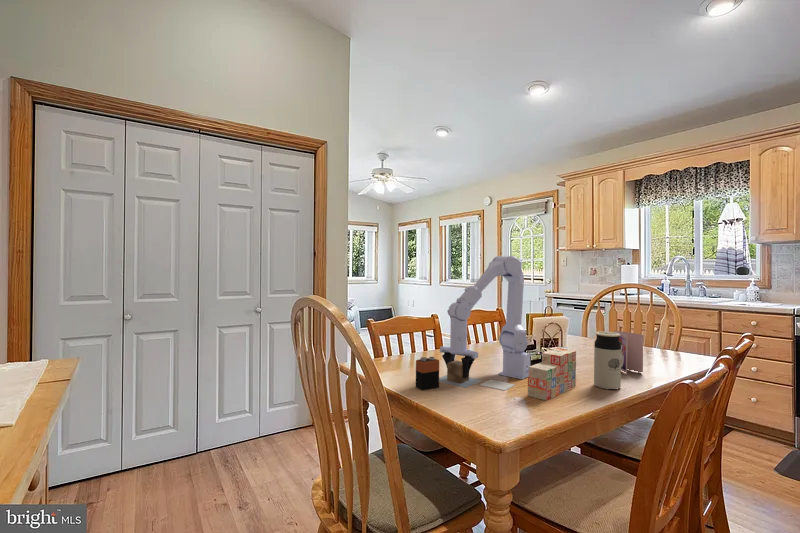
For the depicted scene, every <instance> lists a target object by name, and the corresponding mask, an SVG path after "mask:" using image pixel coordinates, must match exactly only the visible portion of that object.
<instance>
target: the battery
mask: <svg viewBox="0 0 800 533" xmlns="http://www.w3.org/2000/svg"><path fill="white" fill-rule="evenodd" d="M439 378H440V360H439V359H436V358H435V356H429V357H426V356H425V357H424V356H422V357H420V358H419V359H416V360H415V388H417V389H419V390H421V391H427V390H432V389H433V390H434V389H437V388H440V382H439Z"/></svg>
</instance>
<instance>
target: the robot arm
mask: <svg viewBox="0 0 800 533" xmlns="http://www.w3.org/2000/svg"><path fill="white" fill-rule="evenodd" d="M522 266H523V262H522V261H521V260H520V259H519V258H518V257H517V256H515V255H507V256H505V255H504V256H501V255H498V256H494V257H493V259H492V260H491V261H490V262H489V263H488V266H487V268H486V269H485V270H484V272H483V273H482V275H481V276H480V277H479V278H478V280H477V281H476V282H475V283H474V285H470V286H468V287H465V288H464V292H463V293H462V294H461V295H460V297H457V299H455V300H456V301H455V302H453V303H451V304H450V305H449V306H448V309H447V311H446V312H447V314H448V317H449V318H450V321H449V322H450V335H449V336H450V345H449V346H440V347H439V353H442V355H441V357H442V359H443V361H444V363H445V366H446V367H447V363H449V362H452V361H455V360H456V359H455V358H456V356H462V357H461V360H460V361H462V364H463V378H467V377H468V375H469V376H470V370H471V368H472V365H473V364H474V361H475V360H476V359H478V358H479V352H478V351H474V350H472V349H468V348H467V345H468V344H467V343H468V318H470V316H471V313H472V310H473V308H474V306H475V305H476V304H477V303H478V302H479V300H480V299H481V298H482V292H483V291H484V290H485V289H486V287H488V286H489V285H490V284H491V283H492V282H493V281H494V279H496V278H497V277H500V276H502V277H503V278H504V279H505V280H506V281H507V283H508V285H507V300H506V303H507V304H506V320H505V324H504V325H502V328H501V333H500V334H499V337H498V342H499V345H501V347H502V371H500V372H498V375H500V376H504V377H509V378H514V379H519V380H523V379H526V378H528V373H529V366H531V355H530V353H528V352H525V350H526V349H527V347H528V343H529V342H528V337H527V331H526V329H525V328H524V327H523V326H522V320H523V318H522V317H523V304H524V302H523V301H524V300H523V299H524V285H525V276H524V273H523V270H522Z"/></svg>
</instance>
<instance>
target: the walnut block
mask: <svg viewBox="0 0 800 533" xmlns="http://www.w3.org/2000/svg"><path fill="white" fill-rule="evenodd" d="M446 368H447V370H446V375H447V380H448V381H453V382H457V383H463V382H465V381H468V380H469V377H470V374H469V375H468V377H467V378H463V364H462V360H457V359H454V361H452V362H449V363H447V366H446Z"/></svg>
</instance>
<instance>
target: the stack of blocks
mask: <svg viewBox="0 0 800 533" xmlns="http://www.w3.org/2000/svg"><path fill="white" fill-rule="evenodd" d="M576 371H577V351H576V350H571V349H566V348H565V349H564V348H552V349H550V350H547V351H544V352H542V354H541V362H539V363H535V364H533V365H530V366H529V373H528V377H527V396H528V397H532V398H536V399H539V400H542V401H548V400H550V399H553V398H555V397H557V396H559V395H561V394H563V393H565V392H567V391H569V390H568V389H570V388H572V389H574V388H576V387H575V386H576V383H577V378H576V377H577V376H576V375H577V374H576ZM573 387H574V388H573ZM566 390H567V391H566ZM570 390H571V389H570ZM564 391H565V392H564ZM562 392H563V393H562ZM560 393H561V394H560Z"/></svg>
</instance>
